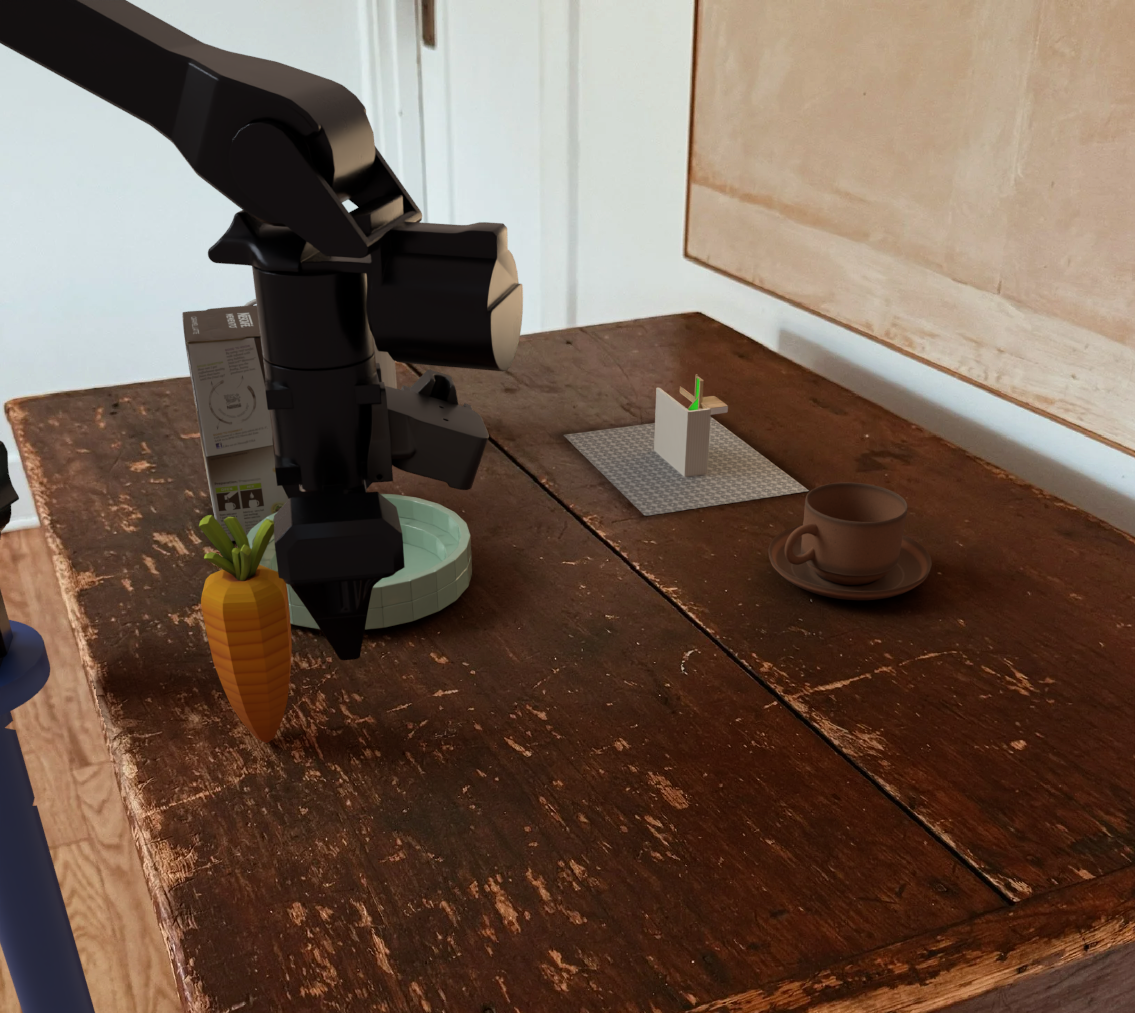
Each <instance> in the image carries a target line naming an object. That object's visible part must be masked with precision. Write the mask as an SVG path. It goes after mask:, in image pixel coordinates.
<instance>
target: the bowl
mask: <svg viewBox="0 0 1135 1013" xmlns="http://www.w3.org/2000/svg"><path fill="white" fill-rule="evenodd" d="M380 494H381V495H382V496H384V497H385V498H386V499H387V500H389V501H390V502H391V503H392V504H394V505H395V506H396V507H397V511H398V516H399V521H400V525H401V530H402V535H403V549H404V564H405V568H403V569H401V570H399V571H398V572H396V573H395V574H394V575H393V576H390V577H387V578H382V579H381V580H380V581H379V582H377V583H376V584H375V585H374V586H373V588H372V592H371V597H370V602H369V608H368V613H367V619H366V625H365V630H375V629H384V628H388V627H392V626H393V627H394V626H397V625H403V624H406V623H412V622H415V621H417V620H420V619H423V618H425V617H428V616H430V615H433V614H435V613H438V612H440V611H442V610H443V609H445V608H446V607H449V605H451V604H453V603H455V602H456V601H457V600H458V599H459V598H460V597H461V596H462V594H463V593H464V592H465V591H466V590H467V589H468V587H469V585H470V582H471V578H472V576H473V564H472V563H473V560H472V541H471V533H470V529H469V526H468V524H467V522H466V521H465V520H464V519H463V518H462V517H461V516H460V515H459V514H458V513H457V512H455V511H453V510H452V509H449V508H447V507H446V506H444V505H442V504H440V503H437V502H434V501H430V500H427V499H424V498H419V497H415V496H409V495H401V494H394V493H380ZM276 513H277V512H276ZM276 513H274V514H272V515H270V516H268V517H266V518H265V519H263V520H262V521H261V522H259V523H258V524H257V525H255V526H254V527H253V528H252V529H251V530H250V531H249V533H248V535H247V538H248V541H249V545H250V548H251V549H252V547H253V543H254V540H255V536H256V533H257V531H258V529H259V528H260V526H261V524H262V523H263V522H264V521H265V520H266V519H270V520H272V521H274V515H275V514H276ZM259 564H260V565H262V566H265V567H267V568H269V569H272V570H274V571H276V572H278V567H277V559H276V551H275V542H274V534H273V536H272V537H271V539H270V541H269V543H268V546H267V548H266V550H265V552H264V554H263V557H262V559H261V561H260V563H259ZM286 585H287V592H288V602H289V611H290V624H291V625H294V626H298V627H304V628H310V629H315V630H320V628H319V626H318V625H317V623H316V622H315V620H314V619H313V618H312V616H311V614H310V613H309V611H308V610H307V608H306V607H305V606H304V604H303V603H302V601H301V600H300V599H299V597H298V596H297V594H296V593H295V591H294V590H293V589H292V587H291V586H290V585H288V584H286Z"/></svg>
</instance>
